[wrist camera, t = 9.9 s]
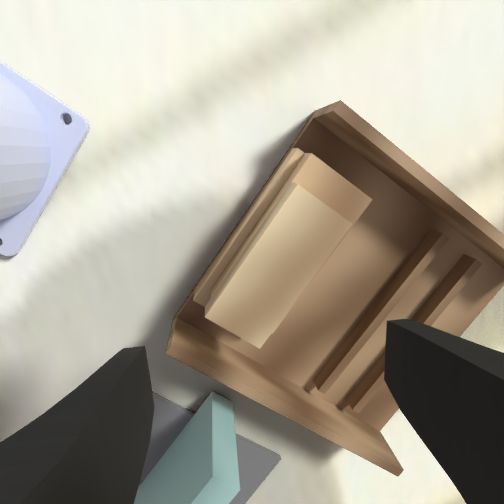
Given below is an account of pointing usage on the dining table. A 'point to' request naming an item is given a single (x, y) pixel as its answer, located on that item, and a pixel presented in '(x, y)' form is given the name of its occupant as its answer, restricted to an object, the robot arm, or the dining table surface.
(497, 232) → the rack
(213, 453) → the teal rectangular block
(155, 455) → the mat
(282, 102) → the dining table surface
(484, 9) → the dining table surface
